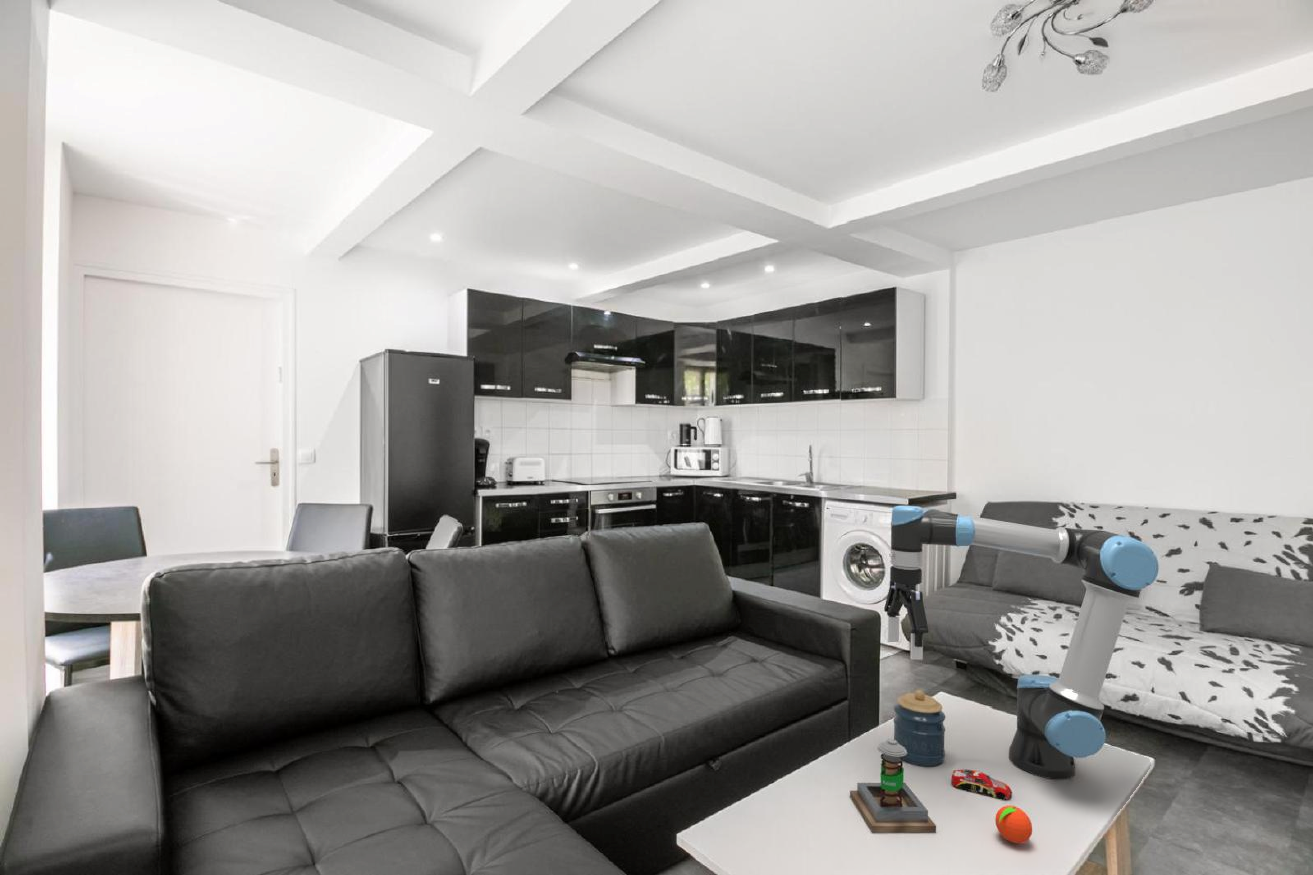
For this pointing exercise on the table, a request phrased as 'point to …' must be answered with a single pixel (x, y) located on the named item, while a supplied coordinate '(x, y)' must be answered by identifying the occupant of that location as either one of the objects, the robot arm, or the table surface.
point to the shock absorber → (891, 772)
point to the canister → (920, 728)
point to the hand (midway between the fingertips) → (904, 650)
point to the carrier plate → (891, 827)
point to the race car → (980, 784)
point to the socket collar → (892, 814)
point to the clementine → (1013, 824)
